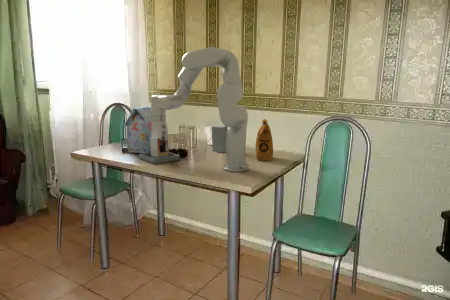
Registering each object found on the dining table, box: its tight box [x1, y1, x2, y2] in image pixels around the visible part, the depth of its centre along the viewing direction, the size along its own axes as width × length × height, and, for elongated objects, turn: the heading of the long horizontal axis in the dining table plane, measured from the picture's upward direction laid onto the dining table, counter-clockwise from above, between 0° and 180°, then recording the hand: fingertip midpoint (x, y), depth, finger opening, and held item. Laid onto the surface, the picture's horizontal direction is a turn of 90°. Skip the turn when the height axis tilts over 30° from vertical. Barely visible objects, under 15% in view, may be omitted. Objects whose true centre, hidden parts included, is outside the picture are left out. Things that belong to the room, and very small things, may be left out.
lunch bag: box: [124, 105, 152, 154], centre depth 216 cm, size 22×17×26 cm
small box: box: [150, 137, 169, 157], centre depth 194 cm, size 8×6×10 cm
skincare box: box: [210, 124, 228, 153], centre depth 216 cm, size 8×7×16 cm
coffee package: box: [255, 118, 274, 162], centre depth 198 cm, size 10×12×22 cm
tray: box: [138, 151, 181, 165], centre depth 195 cm, size 16×16×3 cm
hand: (159, 150), depth 194 cm, fingers closed on small box, 6 cm apart
